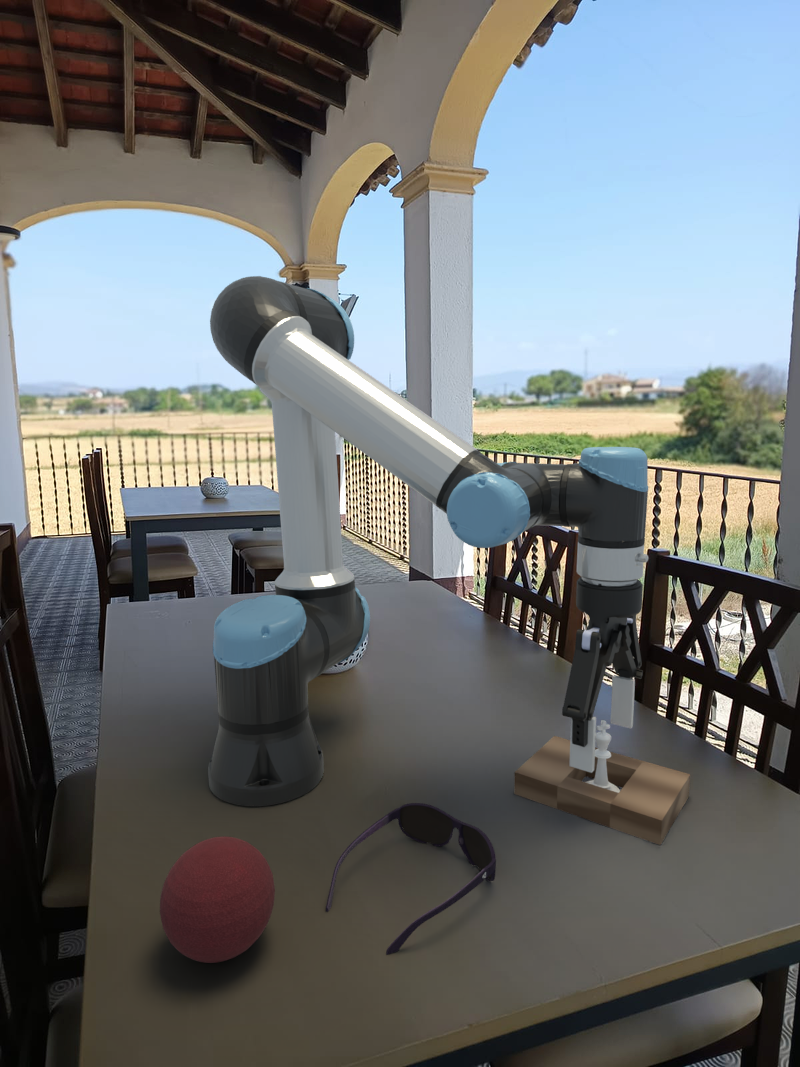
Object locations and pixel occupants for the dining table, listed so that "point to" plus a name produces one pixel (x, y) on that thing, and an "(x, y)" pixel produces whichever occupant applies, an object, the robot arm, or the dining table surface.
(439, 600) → the dining table surface
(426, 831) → the sunglasses
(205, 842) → the decorative ball
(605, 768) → the chess piece
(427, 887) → the dining table surface
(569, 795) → the socket plate
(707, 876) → the dining table surface
